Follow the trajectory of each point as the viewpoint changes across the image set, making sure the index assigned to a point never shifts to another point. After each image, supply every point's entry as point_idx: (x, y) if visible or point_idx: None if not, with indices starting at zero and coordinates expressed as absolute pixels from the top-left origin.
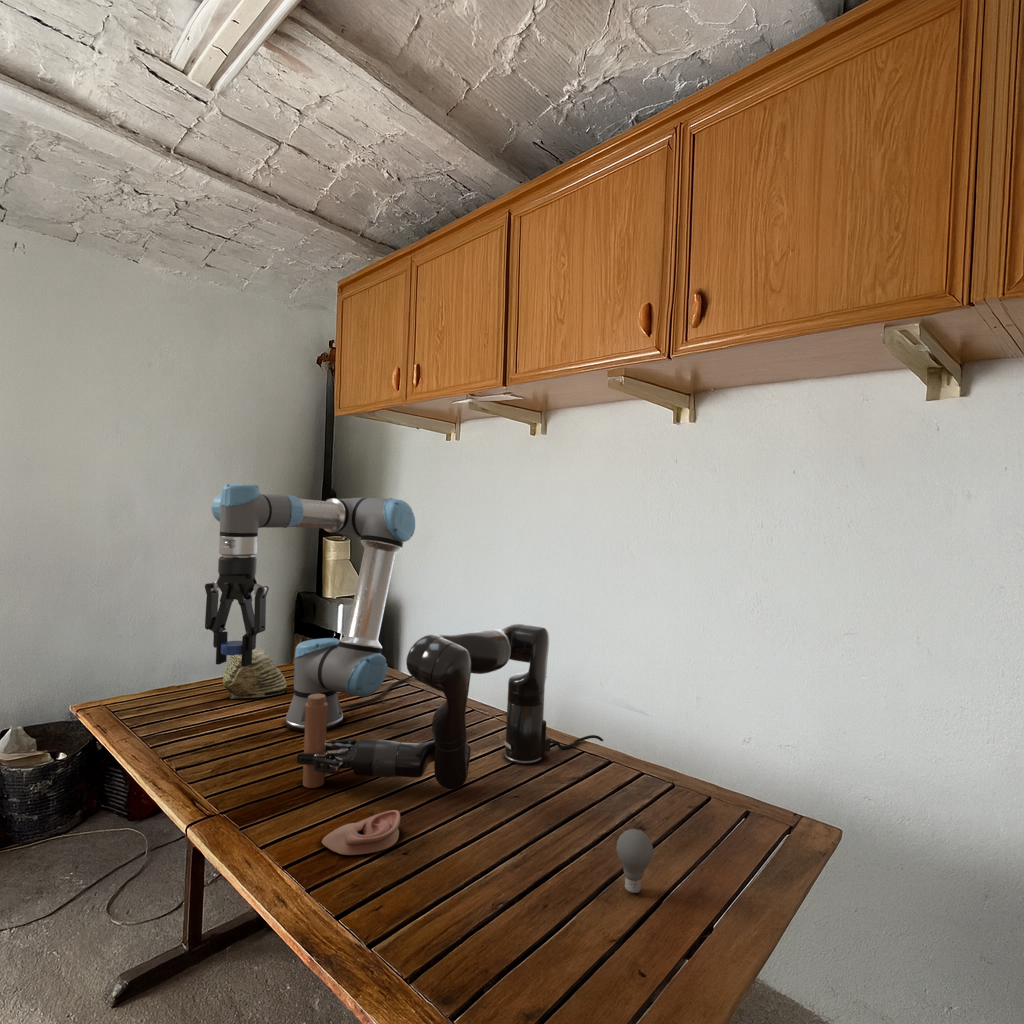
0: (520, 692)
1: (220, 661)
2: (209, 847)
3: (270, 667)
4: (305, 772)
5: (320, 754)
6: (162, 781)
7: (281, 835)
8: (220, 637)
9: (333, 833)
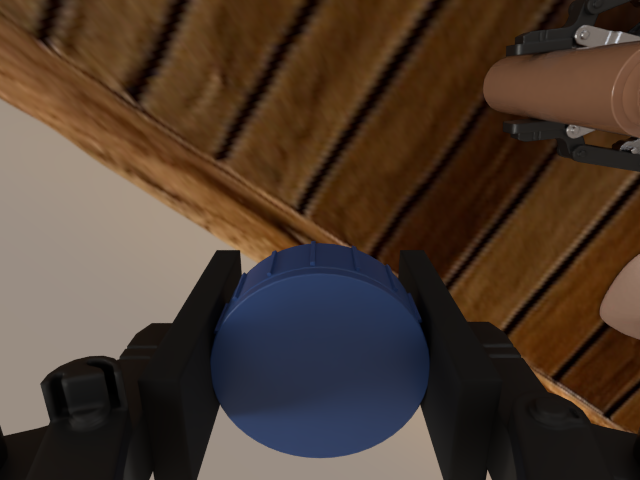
0: None
1: None
2: None
3: None
4: (509, 112)
5: None
6: (154, 165)
7: (517, 304)
8: (202, 455)
9: (626, 310)
